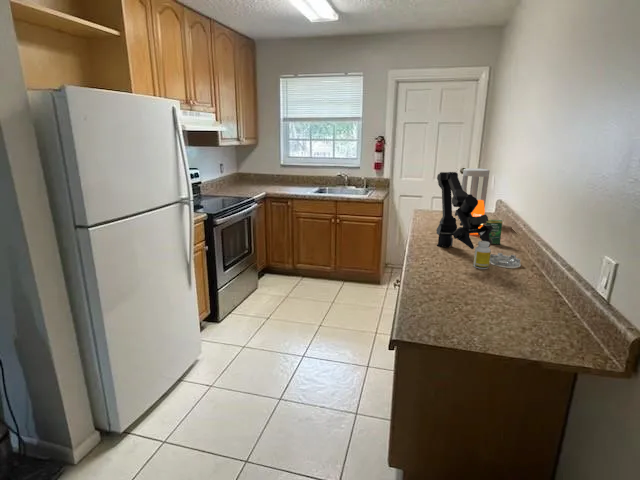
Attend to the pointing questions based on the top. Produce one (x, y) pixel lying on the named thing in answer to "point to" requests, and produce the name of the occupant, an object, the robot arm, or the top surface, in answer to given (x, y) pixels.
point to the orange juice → (479, 211)
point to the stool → (476, 181)
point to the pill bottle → (482, 255)
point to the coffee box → (495, 231)
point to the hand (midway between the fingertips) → (481, 247)
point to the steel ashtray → (504, 261)
